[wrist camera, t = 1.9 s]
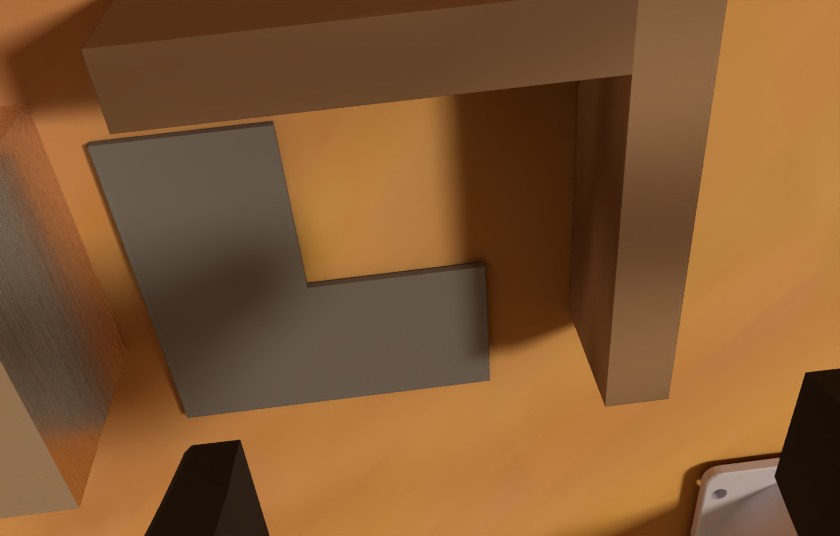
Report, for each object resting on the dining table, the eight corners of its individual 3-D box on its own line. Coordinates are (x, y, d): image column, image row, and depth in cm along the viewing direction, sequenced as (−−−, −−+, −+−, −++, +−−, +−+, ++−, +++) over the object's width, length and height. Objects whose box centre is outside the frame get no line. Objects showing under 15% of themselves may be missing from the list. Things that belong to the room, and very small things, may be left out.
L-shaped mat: (488, 375, 23) (489, 380, 23) (188, 412, 23) (187, 417, 22) (477, 97, 18) (478, 101, 18) (89, 141, 17) (87, 146, 17)
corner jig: (624, 305, 22) (668, 398, 19) (235, 352, 21) (220, 454, 19) (659, -77, 16) (731, -24, 13) (125, -18, 16) (80, 49, 13)
